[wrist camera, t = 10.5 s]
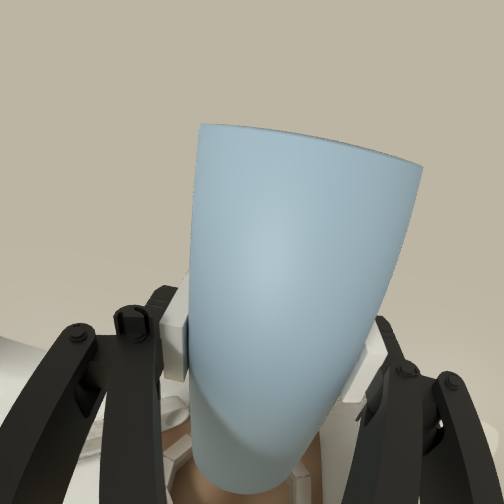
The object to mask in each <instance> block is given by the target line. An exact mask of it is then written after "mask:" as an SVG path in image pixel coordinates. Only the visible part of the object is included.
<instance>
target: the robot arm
mask: <svg viewBox="0 0 504 504" xmlns="http://www.w3.org/2000/svg"><path fill="white" fill-rule="evenodd" d="M188 312H189V270H188V272H187V274H186V275H185V277H184V279H183V281H182V283H181V284H180V286H179V288H176V287H171V286H166V285H163V286H161V287H160V288H158V289H157V290H155V291H154V293H153V294H152V296H151V297H150V299H149V300H148V302H147V304H146V305H145V306H140V305H127V306H124V307H122V308H120V309H119V310H117V311H116V312H115V314H114V316H113V318H114V324H115V329H116V334H117V335H96V334H95V330H94V329H93V328H92V326H90V325H88V324H84V323H76V324H72V325H70V326H68V327H66V329H64V330H63V331H62V333H61V334H60V335H59V337H58V338H57V340H56V341H55V342H54V344H53V345H52V347H51V348H50V349H49V351H48V352H47V354H46V355H45V356H44V358H43V359H42V361H41V362H40V364H39V365H38V367H37V368H36V370H35V371H34V373H33V374H32V376H31V377H30V379H29V380H28V382H27V383H26V385H25V387H24V388H23V390H22V391H21V393H20V395H19V396H18V398H17V399H16V401H15V403H14V404H13V406H12V408H11V409H10V411H9V413H8V415H7V416H6V418H5V420H4V422H3V423H2V425H1V427H0V504H63V501H64V498H65V495H66V492H67V489H68V486H69V483H70V480H71V478H72V475H73V472H74V470H75V467H76V464H77V462H78V459H79V456H80V454H81V451H82V449H83V446H84V444H85V441H86V439H87V436H88V434H89V431H90V429H91V427H92V424H93V422H94V419H95V417H96V415H97V412H98V410H99V408H100V406H101V403H102V401H103V399H104V396H105V394H106V392H107V396H106V404H105V412H104V421H103V432H102V443H101V458H100V480H99V504H167V496H166V487H165V476H164V463H163V449H162V429H161V392H160V376H161V373H162V371H164V378H167V379H171V380H175V381H180V382H184V380H185V377H186V374H187V371H188V368H189V351H188ZM340 394H341V401H342V402H350V403H360V401H361V400H362V398H363V396H364V395H365V394H366V398H367V403H366V404H365V406H364V407H363V409H362V410H361V412H360V413H359V415H358V416H357V418H356V420H355V421H359V419H360V418H361V422H360V428H359V433H358V438H357V443H356V447H355V452H354V457H353V461H352V465H351V469H350V473H349V477H348V481H347V485H346V489H345V492H344V496H343V499H342V503H341V504H418V499H419V497H420V504H504V501H503V496H502V492H501V487H500V483H499V479H498V476H497V472H496V469H495V465H494V461H493V458H492V455H491V452H490V449H489V445H488V442H487V439H486V437H485V434H484V431H483V428H482V425H481V423H480V420H479V417H478V415H477V412H476V409H475V407H474V404H473V402H472V400H471V397H470V395H469V392H468V390H467V388H466V385H465V383H464V381H463V380H462V378H461V377H459V376H458V375H457V374H455V373H453V372H449V371H445V372H442V373H441V374H440V375H439V376H438V378H437V379H433V378H430V377H426V376H423V375H421V374H420V371H419V369H418V368H417V366H416V365H415V364H413V363H412V362H411V361H408V360H405V358H404V356H403V353H402V351H401V348H400V346H399V344H398V341H397V339H396V337H395V335H394V333H393V330H392V328H391V325H390V323H389V322H388V321H387V320H386V319H385V318H384V317H383V316H376V318H375V320H374V323H373V325H372V327H371V330H370V332H369V334H368V337H367V339H366V341H365V343H364V345H363V348H362V350H361V352H360V354H359V356H358V358H357V360H356V362H355V364H354V366H353V369H352V371H351V373H350V375H349V376H348V378H347V380H346V382H345V384H344V386H343V388H342V390H341V392H340ZM441 420H442V422H443V427H442V428H441V427H440V424H439V422H440V421H441Z"/></svg>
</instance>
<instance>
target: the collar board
mask: <svg viewBox="0 0 504 504" xmlns="http://www.w3.org/2000/svg"><path fill="white" fill-rule="evenodd" d="M162 449H163V463H164V476H165V487H166V496H167V504H323V499H322V472H321V452H320V435H319V432H317V434H316V435H315V437H314V439H313V440H312V442H311V443H310V445H309V447H308V448H307V450H306V451H305V453H304V454H303V456H302V457H301V459H300V460H299V462H298V463H297V465H296V466H295V468H294V469H293V471H292V472H291V474H290V475H289V476H288V477H287V479H286V480H285V481H283V482H282V483H281V484H280V485H278V486H277V487H275V488H273V489H271V490H269V491H266V492H262V493H257V494H237V493H232V492H228V491H225V490H223V489H221V488H219V487H217V486H215V485H213V484H212V483H211V482H209V481H208V480H207V479H206V478H205V477H204V476H203V475H202V474H201V472H200V471H199V470H198V468H197V466H196V464H195V461H194V458H193V451H192V436H191V418H190V415H189V417H188V418H187V420H186V421H184V422H183V423H182V424H180V425H178V426H176V427H173V428H171V429H168V430H165V431H163V432H162Z"/></svg>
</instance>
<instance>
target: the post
mask: <svg viewBox="0 0 504 504" xmlns="http://www.w3.org/2000/svg"><path fill="white" fill-rule="evenodd" d="M422 170H423V166H421V165H418V164H416V163H413V162H410V161H407V160H404V159H401V158H398V157H395V156H392V155H388V154H385V153H382V152H378V151H375V150H371V149H367V148H363V147H359V146H355V145H351V144H347V143H343V142H338V141H334V140H329V139H324V138H319V137H314V136H309V135H303V134H298V133H291V132H286V131H278V130H271V129H263V128H255V127H247V126H236V125H224V124H200V126H199V135H198V145H197V156H196V167H195V179H194V192H193V206H192V207H193V208H192V224H191V244H190V267H189V268H190V269H189V312H188V351H189V395H190V418H191V436H192V451H193V458H194V461H195V464H196V466H197V468H198V470H199V471H200V472H201V474H202V475H203V476H204V477H205V478H206V479H207V480H208V481H209V482H211V483H212V484H213V485H215V486H217V487H219V488H221V489H223V490H225V491H228V492H232V493H237V494H257V493H262V492H266V491H269V490H271V489H273V488H275V487H277V486H278V485H280V484H281V483H282V482H283V481H285V480H286V479H287V477H288V476H289V475H290V474H291V472H292V471H293V469H294V468H295V466H296V465H297V463H298V462H299V460H300V459H301V457H302V456H303V454H304V453H305V451H306V450H307V448H308V447H309V445H310V443H311V442H312V440H313V439H314V437H315V435H316V434H317V432H318V431H319V429H320V427H321V426H322V424H323V422H324V420H325V419H326V417H327V415H328V414H329V412H330V410H331V408H332V406H333V405H334V403H335V401H336V399H337V397H338V396H339V394H340V392H341V390H342V388H343V386H344V384H345V382H346V380H347V378H348V376H349V375H350V373H351V371H352V369H353V366H354V364H355V362H356V360H357V358H358V356H359V354H360V352H361V350H362V348H363V345H364V343H365V341H366V339H367V337H368V334H369V332H370V330H371V327H372V325H373V323H374V320H375V318H376V316H377V313H378V311H379V308H380V306H381V303H382V301H383V298H384V296H385V293H386V291H387V288H388V285H389V282H390V280H391V277H392V274H393V271H394V268H395V265H396V263H397V260H398V256H399V254H400V251H401V248H402V244H403V241H404V238H405V235H406V232H407V228H408V225H409V222H410V218H411V214H412V211H413V207H414V203H415V200H416V195H417V192H418V187H419V183H420V179H421V175H422Z"/></svg>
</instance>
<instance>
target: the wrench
mask: <svg viewBox="0 0 504 504" xmlns="http://www.w3.org/2000/svg"><path fill="white" fill-rule="evenodd" d="M189 415H190V410H189V408H188V407H187V406H186V405H185V404H184V402H183V401H182V400H181V399H180V398H179V397H177V396H171V397H168V398H165V399H162V400H161V429H162V432H163V431H165V430H168V429H171V428H173V427H176V426H178V425H180V424H182V423H183V422H184V421H186V420H187V418H188V417H189ZM103 421H104V419H103V420H99V421H96V422H93V424H92V427H91V429H90V431H89V434H88V436H87V439H86V441H85V444H84V446H83V449H82V451H81V454H80V456H79V459H81V458H85V457H88V456H92V455H95V454H99V453H101V443H102V432H103Z"/></svg>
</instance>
